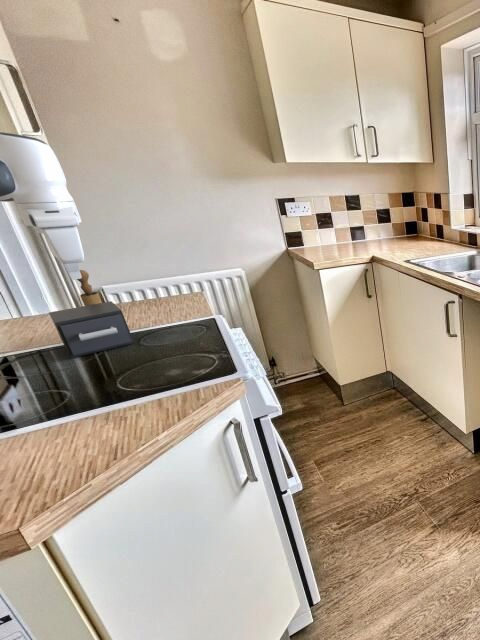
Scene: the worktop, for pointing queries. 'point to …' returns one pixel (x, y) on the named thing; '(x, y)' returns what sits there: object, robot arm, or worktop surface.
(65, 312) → the cabinet
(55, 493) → the worktop surface
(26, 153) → the robot arm
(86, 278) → the mortar and pestle
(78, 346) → the drawer
